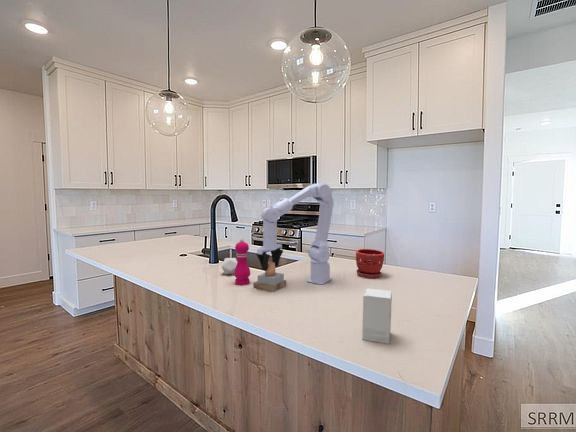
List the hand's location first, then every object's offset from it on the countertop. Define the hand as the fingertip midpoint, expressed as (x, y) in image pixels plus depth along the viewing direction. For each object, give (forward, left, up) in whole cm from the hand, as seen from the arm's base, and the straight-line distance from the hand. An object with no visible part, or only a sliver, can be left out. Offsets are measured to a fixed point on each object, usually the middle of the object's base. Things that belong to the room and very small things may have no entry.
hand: (270, 268), depth 133 cm
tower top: (0, 0, -6) cm, 6 cm away
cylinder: (0, 0, -3) cm, 3 cm away
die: (-6, -29, -8) cm, 31 cm away
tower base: (0, 0, -9) cm, 9 cm away
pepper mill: (+2, -14, -8) cm, 16 cm away
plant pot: (-41, +29, -8) cm, 51 cm away
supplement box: (+19, +52, -8) cm, 56 cm away
